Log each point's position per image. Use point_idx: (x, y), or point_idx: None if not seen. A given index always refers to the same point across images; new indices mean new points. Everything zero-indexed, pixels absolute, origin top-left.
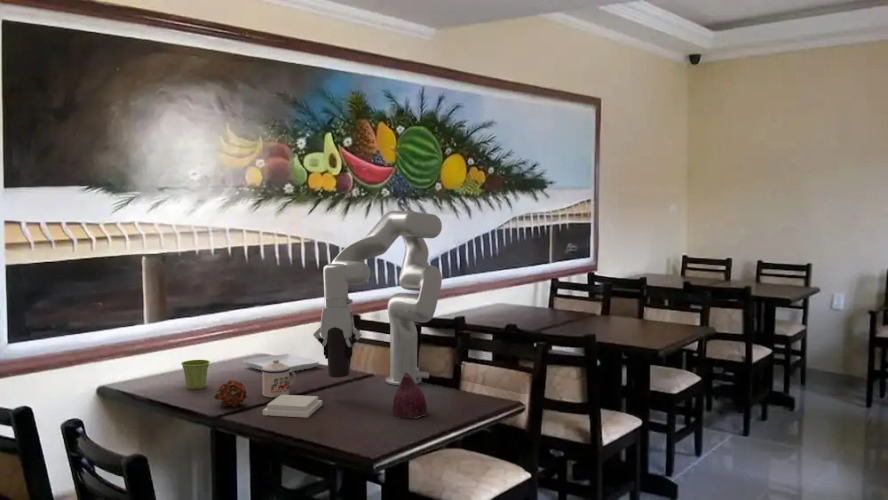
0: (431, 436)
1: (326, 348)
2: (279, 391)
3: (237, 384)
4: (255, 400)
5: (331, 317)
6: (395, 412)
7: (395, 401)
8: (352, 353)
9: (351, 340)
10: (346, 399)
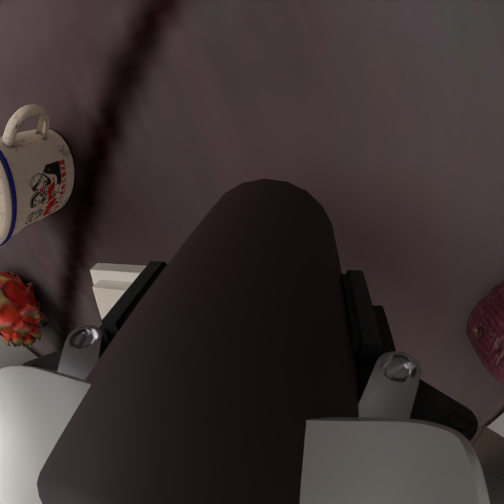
0: (495, 417)
1: None
2: (55, 208)
3: (7, 330)
4: (37, 246)
5: None
6: (474, 349)
7: (486, 366)
8: (383, 310)
9: (403, 412)
10: (304, 175)
